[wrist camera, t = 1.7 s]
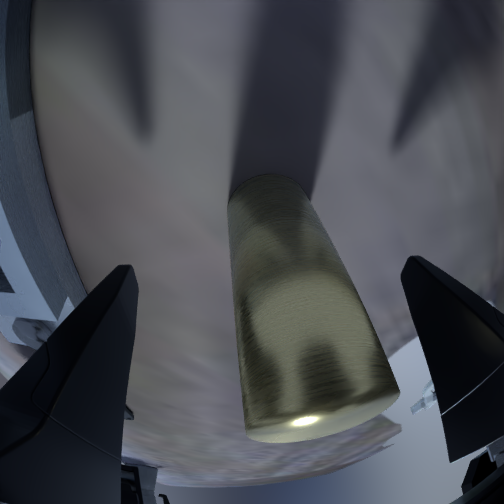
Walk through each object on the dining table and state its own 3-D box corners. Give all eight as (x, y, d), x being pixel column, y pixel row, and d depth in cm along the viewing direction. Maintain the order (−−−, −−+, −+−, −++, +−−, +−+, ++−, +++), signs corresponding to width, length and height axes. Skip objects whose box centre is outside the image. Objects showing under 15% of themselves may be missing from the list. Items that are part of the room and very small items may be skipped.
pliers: (486, 360, 28) (440, 403, 37) (481, 352, 29) (437, 396, 38) (442, 382, 27) (397, 421, 36) (437, 372, 28) (394, 413, 38)
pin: (301, 244, 12) (365, 427, 6) (227, 245, 12) (243, 447, 6) (313, 175, 10) (428, 370, 4) (227, 173, 10) (249, 405, 4)
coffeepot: (113, 462, 51) (112, 519, 37) (122, 460, 47) (122, 524, 33) (165, 472, 58) (167, 526, 44) (179, 470, 54) (182, 529, 40)
